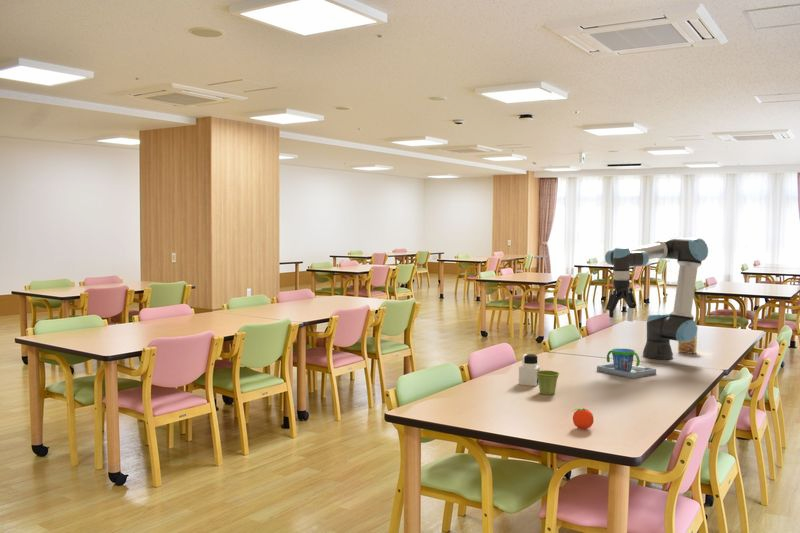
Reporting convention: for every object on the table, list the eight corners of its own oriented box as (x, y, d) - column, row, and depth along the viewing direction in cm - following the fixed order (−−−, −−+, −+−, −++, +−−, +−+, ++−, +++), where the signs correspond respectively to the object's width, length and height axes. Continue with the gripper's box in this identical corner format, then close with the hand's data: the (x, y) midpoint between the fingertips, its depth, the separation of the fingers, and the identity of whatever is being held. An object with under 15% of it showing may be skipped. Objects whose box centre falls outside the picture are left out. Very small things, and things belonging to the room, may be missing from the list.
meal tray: (621, 367, 339) (621, 361, 339) (656, 374, 322) (656, 368, 322) (596, 370, 329) (596, 365, 329) (631, 378, 313) (631, 373, 312)
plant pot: (560, 391, 287) (560, 371, 286) (557, 396, 278) (558, 375, 277) (537, 389, 290) (538, 369, 289) (534, 394, 281) (534, 374, 280)
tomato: (567, 430, 231) (568, 409, 231) (570, 424, 238) (571, 404, 237) (592, 433, 228) (592, 412, 228) (594, 427, 235) (595, 407, 234)
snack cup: (601, 370, 326) (602, 349, 326) (614, 367, 333) (614, 346, 333) (631, 375, 314) (631, 353, 314) (643, 372, 321) (644, 351, 321)
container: (540, 382, 303) (540, 353, 302) (536, 386, 296) (536, 356, 296) (523, 381, 306) (523, 352, 306) (518, 384, 299) (518, 355, 299)
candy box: (677, 352, 382) (678, 324, 381) (680, 351, 385) (680, 324, 385) (694, 353, 377) (695, 326, 376) (696, 352, 380) (697, 325, 379)
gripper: (630, 277, 343) (630, 319, 345) (598, 280, 329) (598, 324, 331) (643, 278, 337) (643, 320, 339) (611, 281, 323) (611, 326, 324)
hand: (621, 322), depth 335 cm, fingers open, 13 cm apart
